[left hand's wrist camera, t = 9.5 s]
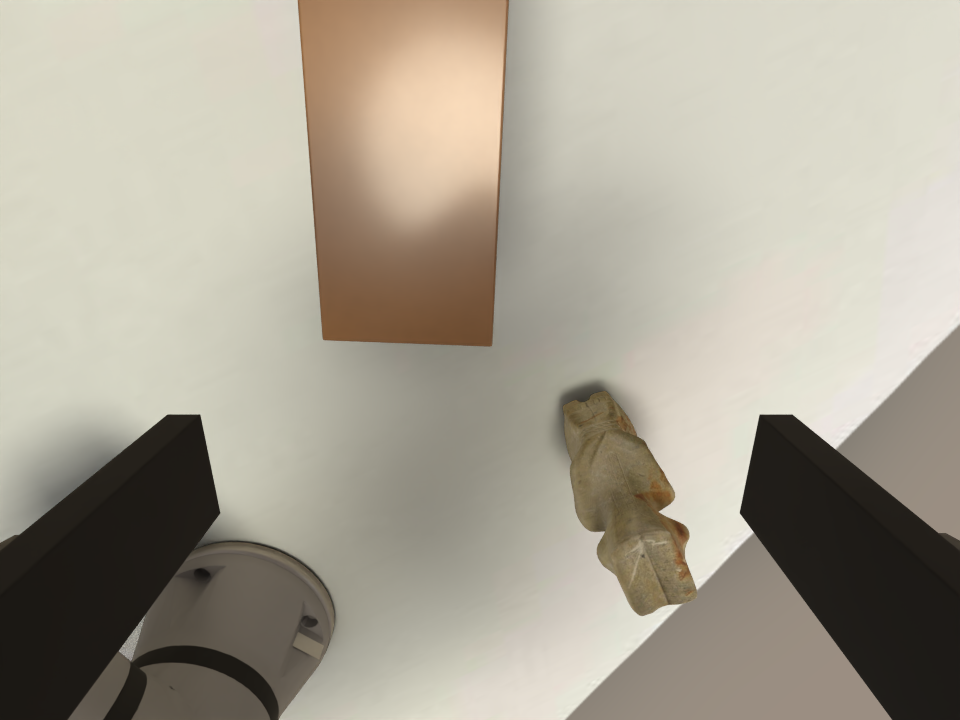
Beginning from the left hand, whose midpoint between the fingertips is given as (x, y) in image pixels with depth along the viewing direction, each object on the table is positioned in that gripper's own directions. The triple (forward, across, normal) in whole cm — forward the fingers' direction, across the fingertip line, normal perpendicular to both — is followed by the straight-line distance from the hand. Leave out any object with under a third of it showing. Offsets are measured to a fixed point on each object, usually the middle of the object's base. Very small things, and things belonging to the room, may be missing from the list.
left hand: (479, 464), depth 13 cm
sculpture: (+25, -9, +12) cm, 29 cm away
